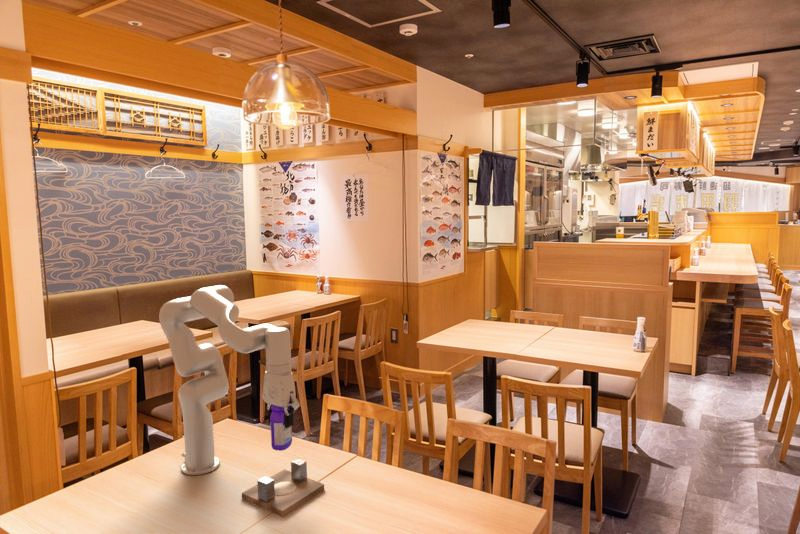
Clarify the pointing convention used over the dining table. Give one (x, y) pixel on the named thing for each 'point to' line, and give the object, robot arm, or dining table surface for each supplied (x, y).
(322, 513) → the dining table surface
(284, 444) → the bottle
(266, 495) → the post pair
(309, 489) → the base board
